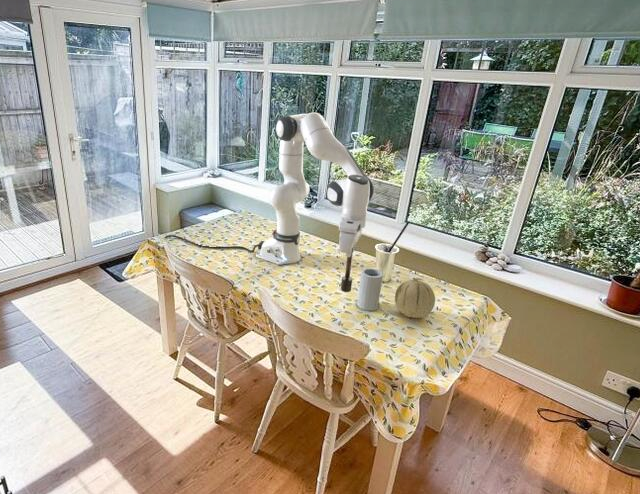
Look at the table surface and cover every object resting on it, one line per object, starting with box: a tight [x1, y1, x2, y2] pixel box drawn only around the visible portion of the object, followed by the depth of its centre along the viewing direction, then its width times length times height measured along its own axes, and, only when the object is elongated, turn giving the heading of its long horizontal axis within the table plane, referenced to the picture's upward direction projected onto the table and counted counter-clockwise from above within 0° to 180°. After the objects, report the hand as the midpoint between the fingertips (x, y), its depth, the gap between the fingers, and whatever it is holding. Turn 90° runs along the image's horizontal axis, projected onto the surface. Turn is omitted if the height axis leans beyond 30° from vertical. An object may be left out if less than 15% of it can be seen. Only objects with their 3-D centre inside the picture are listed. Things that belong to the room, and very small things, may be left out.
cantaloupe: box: [394, 277, 436, 319], centre depth 158 cm, size 15×15×15 cm
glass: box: [374, 221, 410, 283], centre depth 182 cm, size 11×11×30 cm
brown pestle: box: [340, 248, 354, 293], centre depth 156 cm, size 4×4×20 cm
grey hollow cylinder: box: [356, 267, 383, 312], centre depth 164 cm, size 8×8×15 cm
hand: (349, 254), depth 154 cm, fingers closed on brown pestle, 2 cm apart
